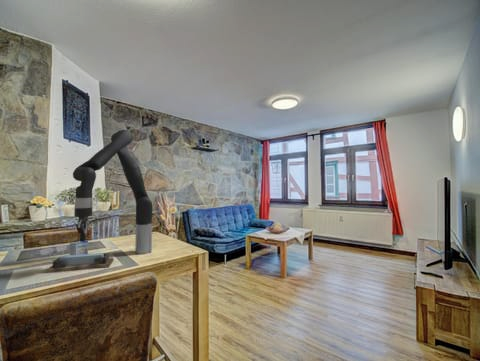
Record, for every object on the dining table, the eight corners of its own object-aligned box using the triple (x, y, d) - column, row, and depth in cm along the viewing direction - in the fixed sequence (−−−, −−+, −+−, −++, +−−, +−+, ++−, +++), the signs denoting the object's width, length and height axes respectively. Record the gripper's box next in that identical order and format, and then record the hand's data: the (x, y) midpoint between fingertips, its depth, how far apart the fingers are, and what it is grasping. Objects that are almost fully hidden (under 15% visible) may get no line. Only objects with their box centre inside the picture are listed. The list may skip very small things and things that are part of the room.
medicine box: (75, 259, 126) (76, 243, 126) (69, 258, 126) (69, 243, 127) (88, 255, 133) (88, 240, 133) (81, 254, 134) (81, 239, 134)
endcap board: (113, 260, 124) (113, 252, 124) (109, 267, 114) (109, 258, 114) (55, 265, 116) (56, 256, 116) (46, 273, 106) (46, 263, 106)
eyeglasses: (67, 250, 143) (68, 244, 143) (72, 254, 138) (73, 247, 138) (38, 256, 131) (39, 249, 131) (43, 260, 127) (43, 253, 127)
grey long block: (103, 260, 120) (103, 252, 120) (101, 262, 116) (101, 254, 116) (62, 264, 114) (62, 255, 114) (59, 266, 110) (59, 258, 111)
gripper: (88, 207, 110) (87, 243, 110) (95, 205, 123) (95, 237, 123) (69, 208, 108) (68, 245, 108) (79, 205, 121) (78, 238, 120)
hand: (82, 241), depth 115 cm, fingers closed
